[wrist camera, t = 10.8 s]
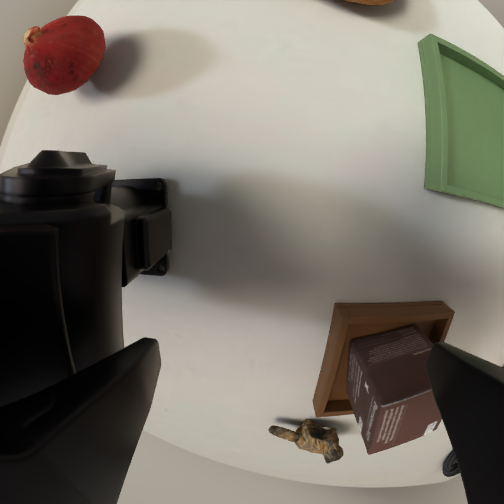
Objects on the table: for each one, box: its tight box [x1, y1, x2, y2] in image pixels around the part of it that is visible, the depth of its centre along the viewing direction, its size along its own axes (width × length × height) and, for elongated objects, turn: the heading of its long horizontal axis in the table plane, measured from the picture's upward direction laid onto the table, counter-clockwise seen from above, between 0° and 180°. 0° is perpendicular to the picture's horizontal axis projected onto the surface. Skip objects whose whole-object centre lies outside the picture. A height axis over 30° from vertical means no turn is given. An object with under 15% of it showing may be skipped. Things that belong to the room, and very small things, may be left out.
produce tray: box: [418, 34, 504, 208], centre depth 13 cm, size 12×12×2 cm
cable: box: [443, 451, 460, 477], centre depth 25 cm, size 17×14×4 cm
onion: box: [23, 16, 105, 95], centre depth 10 cm, size 6×6×8 cm
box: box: [346, 324, 442, 454], centre depth 16 cm, size 6×6×7 cm
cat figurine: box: [269, 419, 343, 463], centre depth 21 cm, size 3×8×4 cm, turn 68°
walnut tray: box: [313, 301, 455, 417], centre depth 19 cm, size 10×10×2 cm
